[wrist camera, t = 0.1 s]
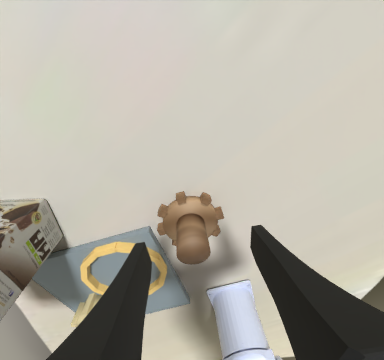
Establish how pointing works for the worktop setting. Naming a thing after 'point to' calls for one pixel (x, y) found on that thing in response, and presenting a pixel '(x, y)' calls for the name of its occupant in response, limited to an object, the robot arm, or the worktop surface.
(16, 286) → the coffee box
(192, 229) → the planet gear
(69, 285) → the carrier plate
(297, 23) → the worktop surface
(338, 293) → the robot arm
